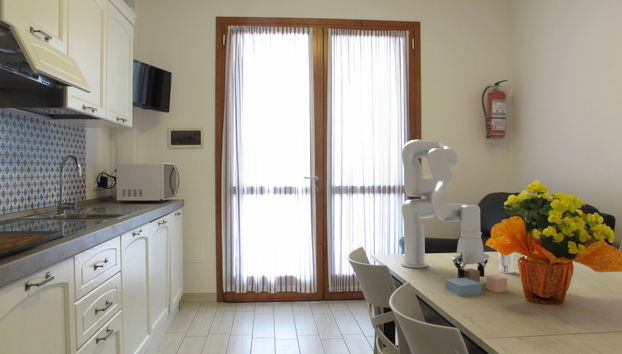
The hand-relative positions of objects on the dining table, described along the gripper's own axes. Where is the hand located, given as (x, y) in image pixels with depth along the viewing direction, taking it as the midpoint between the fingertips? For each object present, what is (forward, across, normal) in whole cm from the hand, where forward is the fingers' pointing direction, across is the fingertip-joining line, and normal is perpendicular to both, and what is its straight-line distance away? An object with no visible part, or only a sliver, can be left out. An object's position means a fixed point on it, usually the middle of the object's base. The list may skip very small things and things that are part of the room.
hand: (471, 277), depth 163 cm
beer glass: (+2, -26, -8) cm, 27 cm away
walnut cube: (+2, 0, 0) cm, 2 cm away
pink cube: (+2, -2, +12) cm, 12 cm away
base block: (+2, +11, +9) cm, 14 cm away
